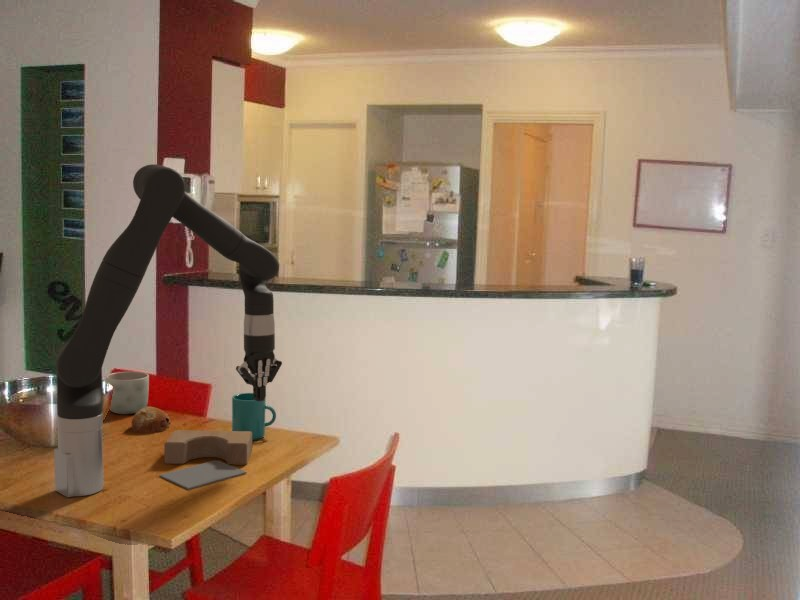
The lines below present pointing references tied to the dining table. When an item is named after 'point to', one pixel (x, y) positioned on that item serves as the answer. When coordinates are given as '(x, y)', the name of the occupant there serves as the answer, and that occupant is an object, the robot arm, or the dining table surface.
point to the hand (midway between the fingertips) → (259, 400)
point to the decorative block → (208, 446)
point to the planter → (128, 391)
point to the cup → (250, 415)
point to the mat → (202, 474)
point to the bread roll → (150, 420)
